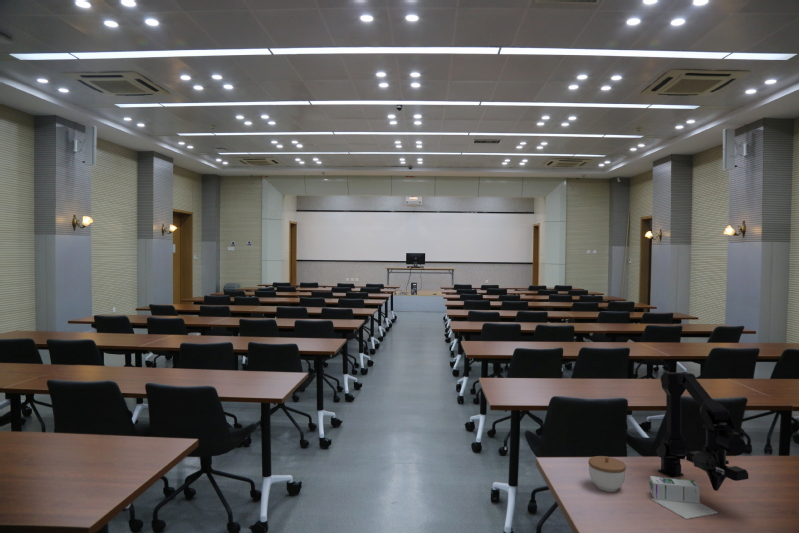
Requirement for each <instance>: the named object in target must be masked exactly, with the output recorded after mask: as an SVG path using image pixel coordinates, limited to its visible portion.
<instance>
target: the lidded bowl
mask: <svg viewBox="0 0 799 533" xmlns="http://www.w3.org/2000/svg"><path fill="white" fill-rule="evenodd" d="M626 469H627V464H626V463H625V462H624V461H622V460H620V459H617V458H614V457H610V456H606V455H605V456H604V455H597V456H592V457H590V458H589V459H588V473H589V477H590V479H591V481H592V482H593V484H594V485H595V486H596V488H597V489H599V490H601V491H603V492H607V493H608V492H609V493H615V492H617V491H618V489H620V488H621V487H622V486H623V485H624V483H625V479H626V471H627V470H626Z"/></svg>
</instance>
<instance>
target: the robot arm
mask: <svg viewBox="0 0 799 533" xmlns="http://www.w3.org/2000/svg"><path fill="white" fill-rule="evenodd" d="M660 384H661V388H662V391H664V393H665V394H666V395H665V396H666V397H665V398H666V399H665V400H666V404H665V405H666V406H665V407H666V410H665V411H666V418H665V419H666V432H664V434H663V436H662V437H661V443H660V445H659V446H658V447H657V448H656V455H657V457H659V458H660V469H659V468H658V469H657V471H658V472H659V473H661V474H663V475H666V476H667V477H669V478H676V477H680V476H684V473H683V472H682V464H681V460H686V461H687V462H690V463H692V464H693V466H694V467H696V468H698V469H701V470H702V471H704V472H705V473H706V474H707V476H708V478H709V482H710V484H711V486H712V490H713V491H715V492H717V491H719V490H720V488H721V486H722V485H723V483H724V481H725V480H726V478H727V479H730V480H732V481H737V482H739V481H744V480H745V481H746V480H749V472H748V470H747V469H745V468H742V467H739V466H738V465H733V466H728V465H729V464H730V461H729V460H727V453H730V454H732V455H734V456H742V455H743V454H744V453H745V452H746V450H747V444H746V442H745V440H744V439H743V438H741V434H740V433H739V432H737V427H736V424H735V423H736V422H734V420H733V418H732V415H731V414H730V411H729V410H728V409H727V408H726V407H725V406H724V405H723V403H720V402H718V401H716V400H714V399H713V398H712V397H711V395H709V393H708V392H707V391H706V389H705V388H704V386H702V385H701V383H700V382H699V381H698V380H697V378H696V375H695V374H694V373H691V372H663V374H661V376H660ZM685 391H687V393H688V394H689V395H690V397H691V398H692V399H693V400H694V401H695V403H696V404H697V406H698V407H699V415H700V416H701V418H702V420H703V421H704V423H703V424H702V427H703V428H705V445H703V446H702V450H701V451H699V450H694V451H688V441H687V439H685V438H684V437H683V435H682V408H681V407H682V396H683V395H684V393H685Z"/></svg>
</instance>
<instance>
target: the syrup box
mask: <svg viewBox="0 0 799 533" xmlns="http://www.w3.org/2000/svg"><path fill="white" fill-rule="evenodd" d="M648 481H649V482H648V485H649V486H648V488H649V493H650V494H651V496H652V498H654V499H661V500H671V501H681V502H691V503H700V499H701V498H700V497H701V487H700V486H699V485H698V483H696V481H695V480H694V479H685V478H676V477H663V476H653V475H650V476H649V480H648Z"/></svg>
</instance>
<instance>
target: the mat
mask: <svg viewBox="0 0 799 533" xmlns="http://www.w3.org/2000/svg"><path fill="white" fill-rule="evenodd" d="M649 499H650V501H651V500H652V502H655V503H657V505H660V506H662V507H663V508H665V509H667V510H669V511H670V512H672V513H674V514H676V515H677V516H679V517H681V518H682V519H684V520H690V518H692V519H695V518H696V517H697V518H702V517H707V516H711V515H717V514H719V512H718V511H716V510H714V509H712V508H711V507H708V506H706V505H704V504H702V503H700V502H699V503H691V502H681V501H671V500H661V499H654V497H650V498H649ZM701 516H702V517H701Z"/></svg>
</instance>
